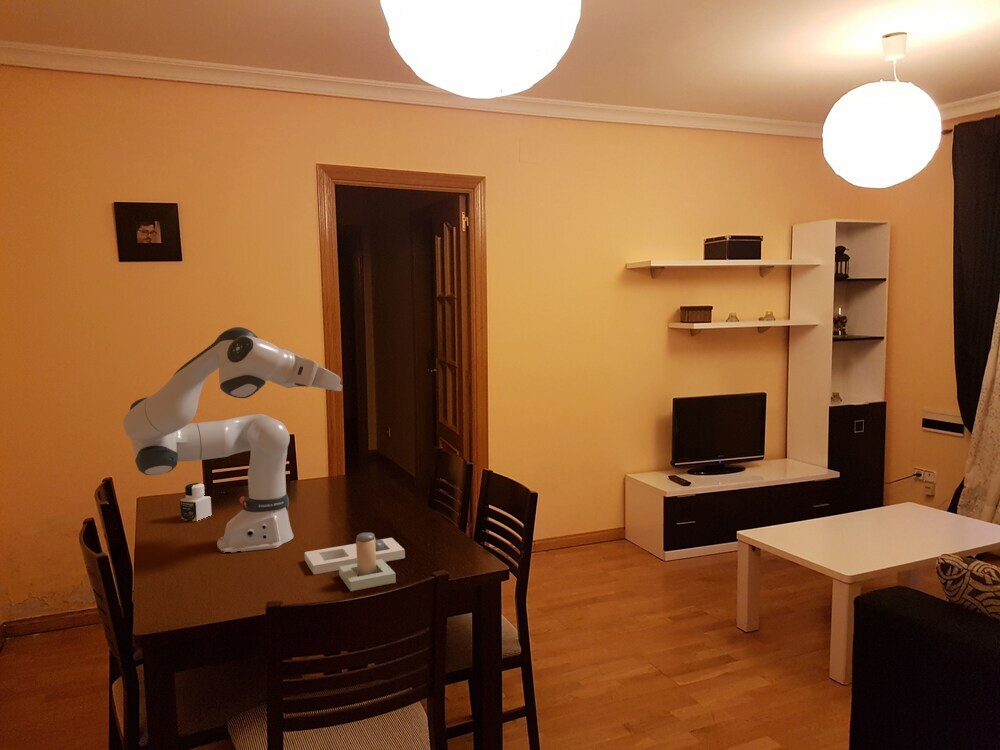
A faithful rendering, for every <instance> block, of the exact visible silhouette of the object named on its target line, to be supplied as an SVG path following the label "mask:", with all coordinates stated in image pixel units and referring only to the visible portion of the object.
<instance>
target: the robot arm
mask: <svg viewBox="0 0 1000 750" xmlns="http://www.w3.org/2000/svg"><path fill="white" fill-rule="evenodd" d="M217 370H218V380H219V388H220V390H221V391H222V392H223V393H224V394H226V395H228V396H230V397H232V398H238V399H247V398H249V397H252V396H253V395H254V394H256V393H257V392H258V391H259V390H261V389H262V388H263V387H264V386H265V384H266V382H268V381H269V382H271V383H273V384H276V385H278V386H281V387H283V388H286V389H293V388H298V387H300V388H301V387H305V388H307V387H309V388H316V389H324V390H328V391H329V390H330V391H335V392H342V391H343V390H342V389H343V385H342V384H341V380H342V378H341V377H340V375H338V374H336V373H334V372H332V371H330V370H329V369H327V368H325V367H322V366H319V362H317V361H315V360H312V359H308V358H306V357H304V356H302V355H299V354H297V353H294V352H292V351H290V350H288V349H284V348H279V347H278V346H277V345H276V344H274V343H272V342H270V341H267V340H265V339H262V338H259V336H257V335H256V334H255V333H254V332H252V330H249V329H248V328H245V327H240V326H235V327H231V328H228V329H227V330H225V331H222V333H220V334H219V335H218V337H217V338H216V339H215V340H214V342H213V343H211V344H210V345H209V346H208V347H206V348H205V349H203V350H202V351H201V352H199V353H198V354H196V355H195V356H194V357H192V358H191V359H190V360H188V361H187V362H186V363H184V364H183V365H182V366H181V367H180V368H178V370H177V371H176V372H175V373H174V374H173V376H172V377H171V378H170V379H169V380H168V382H166V384H164V386H162V387H161V388H160V389H159V390H158V391H157V392H155V393H154V394H152V395H150V396H147V397H142V398H140V399H137V400H135V401H134V402H133V403H132V404H131V405H130V407H129V411H127V413H126V414H125V416H124V418H123V421H122V425H123V430H124V432H125V434H126V435H127V436H128V437H129V438H130V440H131V443H132V445H131V446H132V448H133V453H134V457H135V460H134V461H135V465H136V468H137V469H138V471H139V472H140V473H142V474H143V475H146V476H161V475H164V474H167V473H170V472H171V471H173V470H174V469H175V468H177V465H178V462H194V461H195V462H196V461H203V460H211V459H218V458H219V459H220V458H226V457H227V458H228V457H230V456H233V455H236V454H240V453H243V452H249V451H250V457H249V467H248V471H247V483H248V484H247V486H248V496H247V497H245V496H243V495H242V496H240V498H239V502H240V505H241V504H242V510H240V511H239V512H238V513H237V514H236V515H234V516H233V517H232V518H231V519H230V520H228V522H227V523H226V525H225V528H224V535H223V536H221V537H220V538H219V539H217V542H216V546H218V547H217V549H218V548H219V549H220V550H221V551H220V550H219V549H218V550H219V551H220V552H222V551H224V552H223V553H225V552H231V553H237V551H241V552H248V551H259V550H269V549H277V548H279V547H281V546H282V545H283V544H285V543H289V541H291V540H292V539H294V533H293V531H292V527H291V526H292V525H291V523H290V518H289V517H290V516H289V508H290V507H289V506H290V505H289V496H288V493H287V484H286V483H287V482H286V480H287V479H286V463H287V457H288V456H287V455H288V448H289V445H290V441H291V440H290V439H291V437H290V433H289V430H288V429H287V427H286V424H284V422H282V421H280V420H278V419H276V418H274V417H272V416H269V415H267V414H263V413H256V414H248V415H243V416H237V417H233V418H227V419H221V420H211V421H203V422H202V421H201V422H192V423H190V422H191V421H193V419H194V417H195V416H196V413H197V410H198V407H199V402H200V397H201V392H202V390H203V386H204V384H205V382H206V380H207V379H208V377H209V376H211V374H213V373H215V371H217Z"/></svg>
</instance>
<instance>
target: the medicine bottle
mask: <svg viewBox="0 0 1000 750" xmlns="http://www.w3.org/2000/svg"><path fill="white" fill-rule="evenodd" d="M184 491H185V494H184V495H185V497H184V498H181V499H180V500H179V506H180V507H179V509H180V520H181V519H185V520H184V521H187V520H192V521H191V522H194V521H197V522H199V521H198V520H200V521H202V520H201V519H203V518H205V519H207V518H206V517H208V516H210V517H212V516H211V515H213V514H212V506H211V505H212V500H211V498H212V497H210V496H204V495H205V494H206V493H205V484H203V483H201V482H193V483H189V484H187V485H186V486H185V487H184ZM208 518H209V517H208ZM203 520H204V519H203Z"/></svg>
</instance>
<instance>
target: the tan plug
mask: <svg viewBox="0 0 1000 750" xmlns="http://www.w3.org/2000/svg"><path fill="white" fill-rule="evenodd" d="M375 540H376V537H375V533H373V532H360V533H359V534H357V535H356V539H355V544H356V550H357V577H359V576H364V575H370V574H375V573H376V545H375Z"/></svg>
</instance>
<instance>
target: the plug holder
mask: <svg viewBox="0 0 1000 750" xmlns="http://www.w3.org/2000/svg"><path fill="white" fill-rule="evenodd" d="M338 574H339V577H340V578H341V580H342V581H343V583H344V584H345V585H346V587H347V588H348V590H349V591H350V592H355V591H359V590H364V589H369V588H375V587H379V586H385V585H389V584H395V583H396V582H397V581H396V580H397V578H396V575H397V574H396V572H395V571H394V570H393V569H392V568H391V567H390V565H388V564H387V562H384V561H383V559H379V560H376V573H375V574H370V575H364V576H359V577H358V576H357V563H356V564H351V565H345V566H339V570H338Z"/></svg>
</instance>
